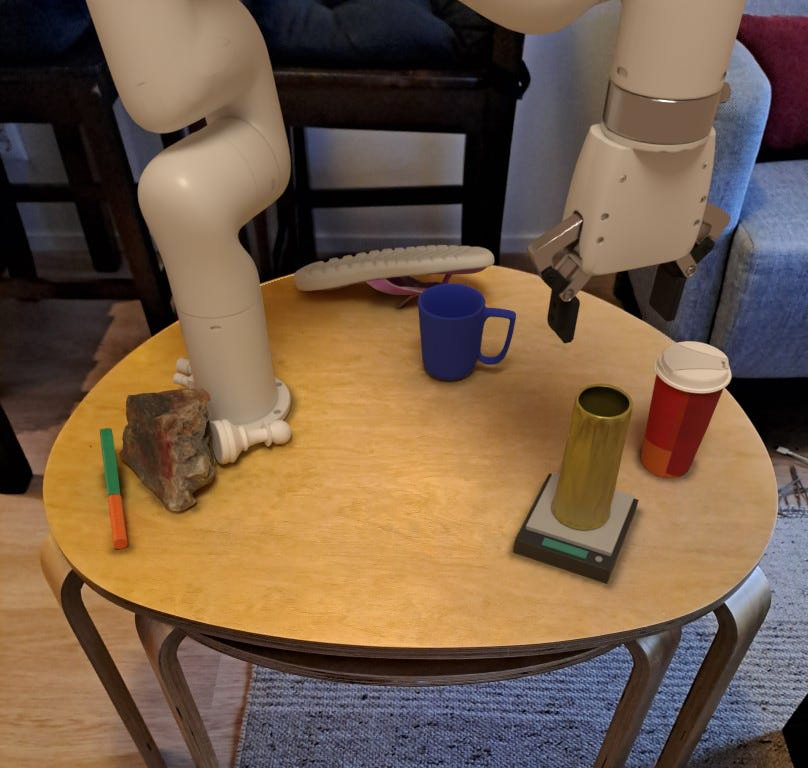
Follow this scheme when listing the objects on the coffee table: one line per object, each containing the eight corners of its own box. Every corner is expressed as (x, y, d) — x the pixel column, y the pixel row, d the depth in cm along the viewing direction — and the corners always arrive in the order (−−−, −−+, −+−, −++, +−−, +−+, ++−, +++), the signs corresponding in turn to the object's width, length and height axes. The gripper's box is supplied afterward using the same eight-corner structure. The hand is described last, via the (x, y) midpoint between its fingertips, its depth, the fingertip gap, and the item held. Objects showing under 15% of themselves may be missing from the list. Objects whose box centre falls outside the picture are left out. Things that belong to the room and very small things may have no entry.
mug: (506, 394, 102) (513, 325, 95) (412, 383, 104) (411, 315, 96) (513, 357, 108) (520, 289, 100) (423, 347, 109) (424, 279, 102)
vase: (547, 525, 83) (567, 416, 73) (554, 485, 87) (574, 376, 77) (607, 535, 82) (636, 426, 72) (612, 494, 86) (639, 385, 76)
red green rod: (112, 451, 95) (97, 453, 94) (110, 416, 90) (93, 417, 89) (131, 558, 87) (114, 561, 87) (129, 526, 82) (112, 528, 82)
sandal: (492, 232, 116) (497, 283, 120) (298, 258, 121) (308, 307, 124) (493, 250, 105) (497, 305, 109) (279, 278, 110) (290, 330, 113)
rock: (227, 395, 94) (152, 360, 87) (251, 471, 87) (170, 440, 80) (168, 464, 99) (92, 436, 92) (185, 541, 92) (104, 517, 85)
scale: (513, 552, 84) (515, 535, 82) (546, 486, 91) (549, 468, 89) (607, 584, 81) (611, 567, 79) (635, 512, 88) (639, 495, 86)
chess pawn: (225, 454, 90) (301, 441, 93) (212, 413, 91) (288, 401, 94) (218, 471, 94) (291, 457, 98) (206, 431, 95) (279, 419, 99)
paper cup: (700, 446, 95) (735, 344, 85) (698, 490, 90) (734, 387, 80) (633, 434, 97) (658, 333, 86) (627, 477, 92) (653, 375, 81)
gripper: (733, 76, 61) (675, 283, 73) (522, 105, 57) (500, 318, 69) (797, 113, 56) (723, 328, 69) (572, 147, 52) (538, 368, 65)
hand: (611, 323), depth 69 cm, fingers open, 9 cm apart
